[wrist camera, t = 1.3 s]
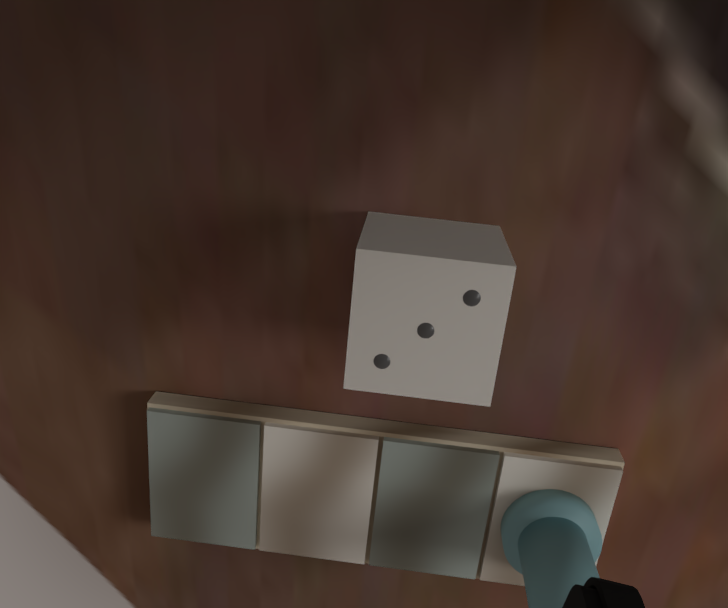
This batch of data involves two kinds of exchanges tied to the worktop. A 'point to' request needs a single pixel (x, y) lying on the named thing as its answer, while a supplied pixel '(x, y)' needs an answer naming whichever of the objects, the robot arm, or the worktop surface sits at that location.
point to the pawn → (551, 544)
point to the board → (355, 484)
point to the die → (428, 308)
